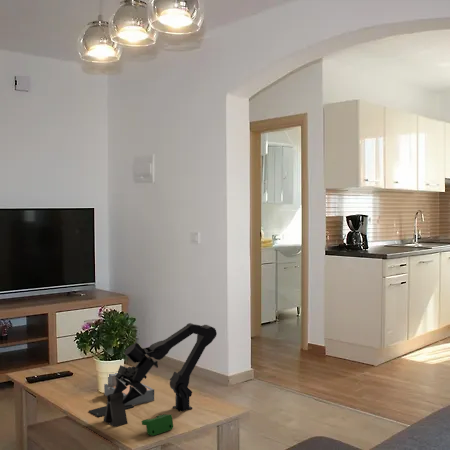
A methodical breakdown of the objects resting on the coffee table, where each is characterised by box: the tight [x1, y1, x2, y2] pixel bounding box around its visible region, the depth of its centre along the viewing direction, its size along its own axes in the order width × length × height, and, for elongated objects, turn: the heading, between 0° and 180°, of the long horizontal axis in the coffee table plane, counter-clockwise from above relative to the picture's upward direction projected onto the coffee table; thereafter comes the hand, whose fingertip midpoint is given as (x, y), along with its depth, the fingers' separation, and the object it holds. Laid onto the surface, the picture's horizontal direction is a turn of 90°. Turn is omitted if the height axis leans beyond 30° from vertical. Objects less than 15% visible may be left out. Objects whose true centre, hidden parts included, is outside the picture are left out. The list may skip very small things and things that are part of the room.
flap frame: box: [103, 382, 155, 406], centre depth 265 cm, size 21×16×5 cm
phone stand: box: [103, 392, 128, 428], centre depth 234 cm, size 9×6×12 cm, turn 42°
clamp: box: [141, 414, 174, 436], centre depth 225 cm, size 12×6×9 cm, turn 128°
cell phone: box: [88, 405, 135, 418], centre depth 249 cm, size 9×18×1 cm, turn 133°
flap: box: [107, 373, 150, 395], centre depth 265 cm, size 19×12×10 cm, turn 37°
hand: (117, 400), depth 235 cm, fingers open, 9 cm apart
